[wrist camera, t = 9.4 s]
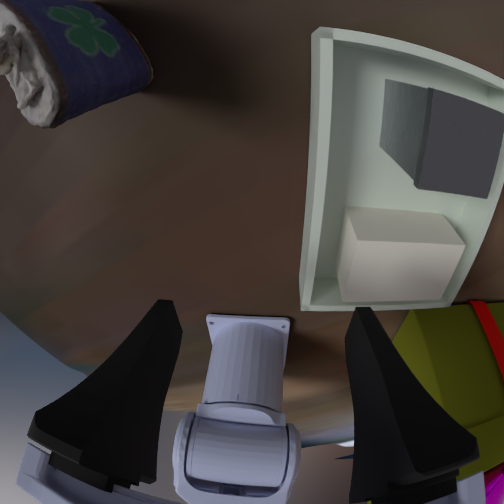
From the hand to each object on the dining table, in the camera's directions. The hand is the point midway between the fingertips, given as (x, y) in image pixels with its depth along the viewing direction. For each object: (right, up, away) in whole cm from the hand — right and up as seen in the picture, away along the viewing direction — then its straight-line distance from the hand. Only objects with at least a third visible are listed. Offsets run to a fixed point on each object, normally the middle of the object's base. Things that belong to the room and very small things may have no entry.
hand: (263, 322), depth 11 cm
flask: (-10, +16, +2) cm, 19 cm away
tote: (+10, +8, +6) cm, 14 cm away
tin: (+10, +11, +3) cm, 15 cm away
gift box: (+23, -9, +18) cm, 31 cm away
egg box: (+10, +4, +9) cm, 14 cm away
